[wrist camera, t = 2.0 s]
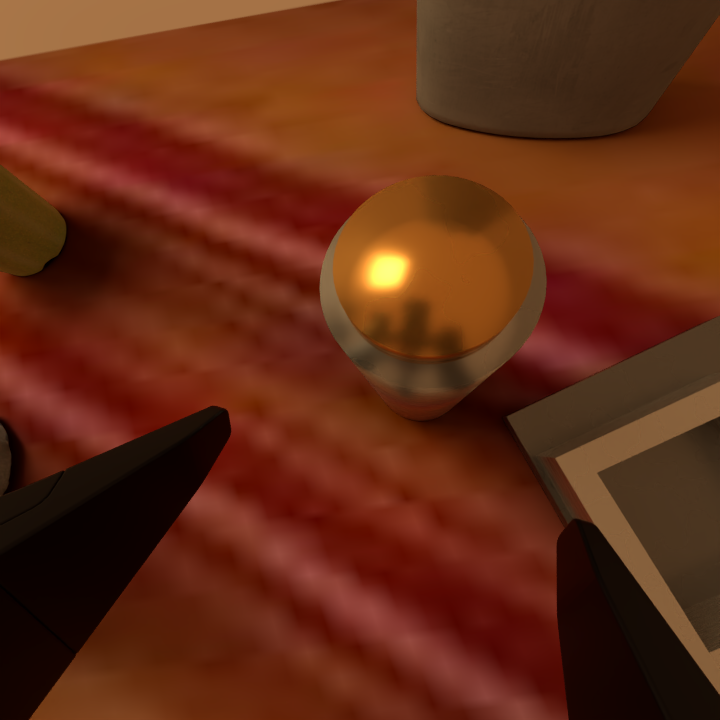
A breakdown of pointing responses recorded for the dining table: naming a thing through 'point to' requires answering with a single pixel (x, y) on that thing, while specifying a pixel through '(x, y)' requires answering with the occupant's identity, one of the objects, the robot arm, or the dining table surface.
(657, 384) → the dock
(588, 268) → the dining table surface
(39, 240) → the plant pot
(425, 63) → the flask
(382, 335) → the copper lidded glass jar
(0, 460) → the moka pot
